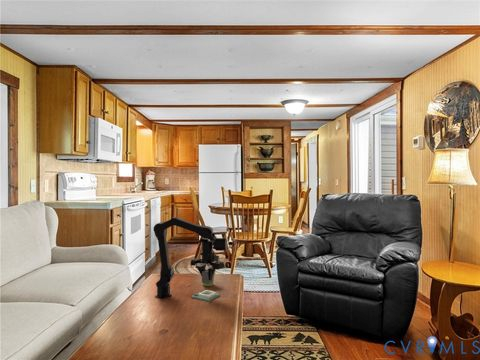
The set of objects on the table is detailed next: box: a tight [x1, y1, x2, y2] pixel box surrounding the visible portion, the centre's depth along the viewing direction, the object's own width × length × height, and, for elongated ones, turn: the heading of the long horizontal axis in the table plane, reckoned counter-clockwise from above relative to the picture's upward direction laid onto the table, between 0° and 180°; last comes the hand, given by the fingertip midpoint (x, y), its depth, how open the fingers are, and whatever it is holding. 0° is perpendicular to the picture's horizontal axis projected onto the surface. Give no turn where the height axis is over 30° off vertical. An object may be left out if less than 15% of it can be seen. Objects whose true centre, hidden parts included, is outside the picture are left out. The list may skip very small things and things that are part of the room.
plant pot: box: [202, 268, 217, 287], centre depth 207 cm, size 9×9×9 cm
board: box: [191, 289, 220, 302], centre depth 187 cm, size 10×11×2 cm
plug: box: [201, 268, 212, 284], centre depth 186 cm, size 4×4×6 cm
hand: (207, 279), depth 186 cm, fingers closed on plug, 4 cm apart
